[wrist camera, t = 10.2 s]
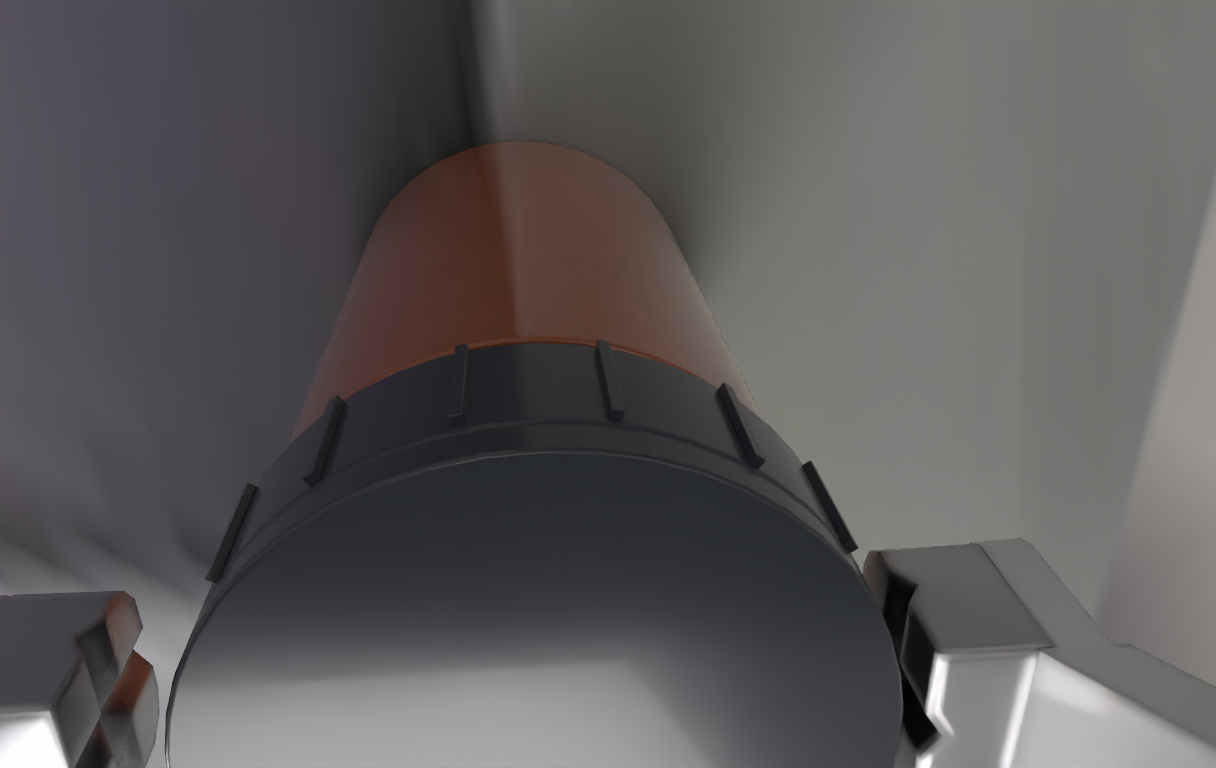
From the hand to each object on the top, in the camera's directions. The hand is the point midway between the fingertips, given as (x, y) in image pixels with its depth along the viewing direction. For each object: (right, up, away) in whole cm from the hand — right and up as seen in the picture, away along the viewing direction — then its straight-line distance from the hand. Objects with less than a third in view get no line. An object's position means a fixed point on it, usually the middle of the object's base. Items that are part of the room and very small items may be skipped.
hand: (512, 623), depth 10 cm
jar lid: (0, -1, -1) cm, 1 cm away
